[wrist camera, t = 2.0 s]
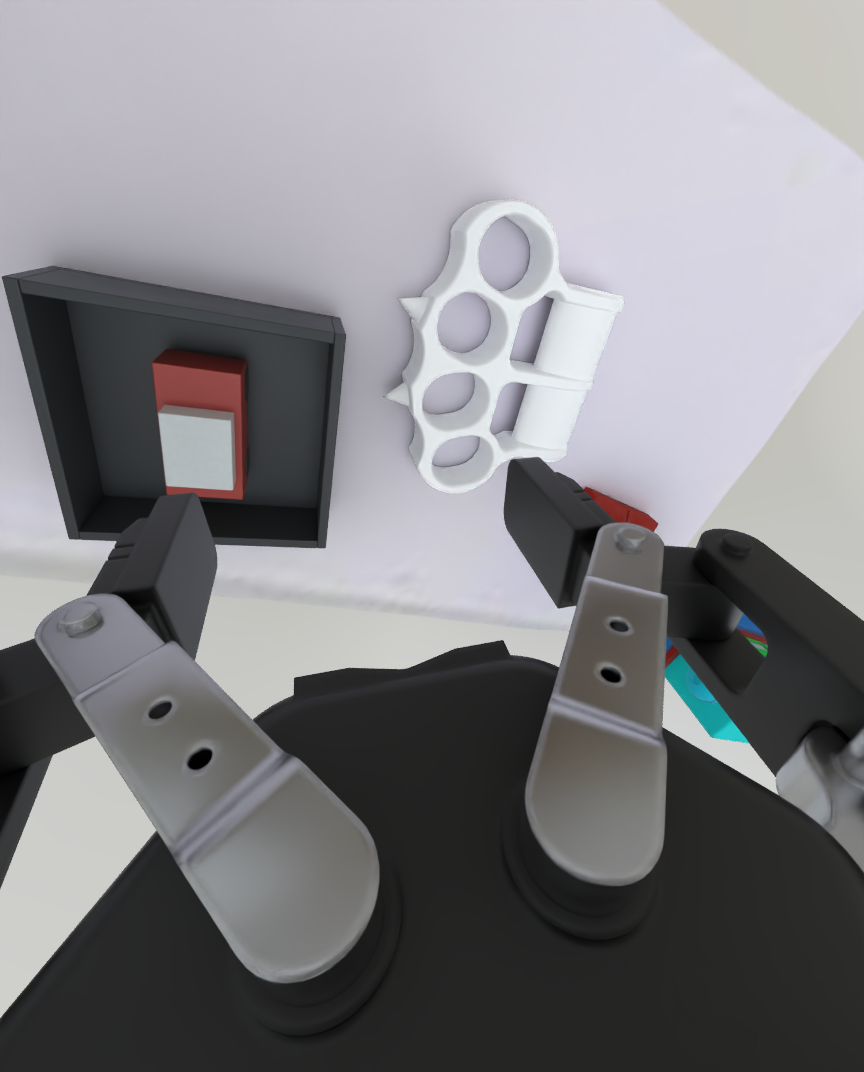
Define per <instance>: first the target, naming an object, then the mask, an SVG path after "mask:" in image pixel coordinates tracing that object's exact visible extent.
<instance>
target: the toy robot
mask: <svg viewBox="0 0 864 1072" xmlns="http://www.w3.org/2000/svg"><path fill="white" fill-rule="evenodd" d="M584 492H587V493H588V494H589V495H590V496H591V497H592V500H595V501H596V502H597V503H598V504H599V505H600V506H601V507H602V508H603V509H604V510H605V511H606V512H607V513H608V514H609V515H610V516H611V517H612V518H613V519H614V520H615V521H616V522H617V523H620V522H622V523H631V524H635V525H639V526H642V527H645V528H647V529H649V530H651V531H652V532H654V531H655V529H656V527H657V525H658V523H657V522H656V521H655V520H654V519H652V518H651V517H650V516H649V515H648V514H645V513H643V512H641V511H639V510H637V509H634V508H632V507H630V506H628V505H625V504H623V503H621V502H619V501H617V500H614V499H612V498H610V497H608V496H605V495H603V494H601V493H599V492H597V491H594V490H592V489H590V488H588V487H586V489H585V490H584ZM736 628H737V629H738V630H739V631H740V632H741V633H742V634H743V635H744V636H745V637H746V638H747V639H748V641H749V642H750V643H751V644H752V645H753V646H754V647H755V648H756V649H757V650H758V651H759V652H760V653H761V654H762V655H763V656H764V657H766V655H767V652H768V645H767V641H766V638H765V636H764V634H763V633H762V631H761V630H760V629H759V628H758V627H757V626H756V625H755V624H754V623H753V622H752V621H751V620H750V619H749V618H748V617H747V616H746V615H745V614H744V613H743V615H742V617H741V619H740V621H739V623H738V625H737V627H736ZM665 678H666V679H667V680H668V681H669V683H670V684H671V685H672V687H673V688H674V689H675V690H676V692H677V693H678V694H679V696H680V697H681V698H682V700H683V701H684V702H685V703H686V705H687V706H688V707H689V708H690V710H691V711H692V713H693V714H694V715H695V717H696V718H697V719H698V721H699V722H700V723H701V725H702V726H703V727H704V729H705V730H706V731H707V732H708V734H709V735H710V736H711V737H712V738H717V739H724V740H730V741H737V742H743V743H749V742H748V741H747V739H746V738H745V737H744V736H743V734H742V733H741V732H740V730H739V729H738V728H737V727H736V725H735V724H734V723H733V721H732V720H731V719H730V718H729V716H728V715H727V714H726V712H725V711H724V710H723V708H722V707H721V706H720V705H719V703H718V702H717V701H716V699H715V698H714V697H713V696H712V694H711V693H710V692H709V690H708V689H707V688H706V687H705V685H704V684H703V683H702V681H701V680H700V679H699V678H698V676H697V675H696V674H695V672H694V671H693V670H692V668H691V667H690V666H689V665H688V663H687V662H686V661H685V659H684V658H683V657H682V656H681V654H680V653H679V652H678V650H677V649H676V648H675V647H674V645H673V644H672V643H671V641H670V640H669V639H668V637H667V638H666V658H665Z"/></svg>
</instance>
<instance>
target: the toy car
mask: <svg viewBox="0 0 864 1072" xmlns="http://www.w3.org/2000/svg"><path fill="white" fill-rule="evenodd" d="M152 371H153V380H154V388H155V397H156V406H157V414H158V423H159V432H160V440H161V449H162V458H163V466H164V475H165V484H166V492H167V495H173V494H182V493H192V492H194V493H196V494H197V496H198V497H209V498H225V499H241V500H242V499H243V498H244V493H245V489H246V484H247V479H248V473H249V460H250V454H249V447H248V426H247V400H248V393H249V372H248V368H247V361H246V360H242V359H235V358H228V357H221V356H214V355H207V354H200V353H194V352H187V351H180V350H173V349H165V350H164V351H163V352H162V353H161V354H160V355H159V356H158V357H157V358H156V359H155V360H154V361H153V362H152Z"/></svg>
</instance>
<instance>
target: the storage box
mask: <svg viewBox="0 0 864 1072" xmlns="http://www.w3.org/2000/svg"><path fill="white" fill-rule="evenodd" d="M2 279H3V283H4V287H5V291H6V295H7V299H8V303H9V307H10V311H11V315H12V318H13V322H14V326H15V330H16V334H17V338H18V342H19V346H20V350H21V354H22V357H23V361H24V365H25V369H26V373H27V377H28V381H29V385H30V389H31V393H32V396H33V400H34V404H35V408H36V412H37V416H38V420H39V424H40V428H41V432H42V436H43V439H44V443H45V447H46V451H47V455H48V459H49V463H50V467H51V471H52V475H53V478H54V482H55V486H56V490H57V494H58V498H59V502H60V506H61V510H62V514H63V517H64V521H65V525H66V529H67V533H68V537H69V539H81V540H104V541H118V539H119V537H120V535H121V534H122V532H123V531H124V530H125V529H127V528H128V527H129V526H130V525H132V524H133V523H134V522H135V521H137V520H138V519H140V518H148V517H149V515H150V514H151V512H152V510H153V508H154V506H155V504H156V502H157V500H158V498H159V497H160V496H163V495H167V492H166V484H165V475H164V466H163V458H162V449H161V440H160V432H159V423H158V414H157V406H156V397H155V388H154V380H153V371H152V362H153V361H154V360H155V359H156V358H157V357H158V356H159V355H160V354H161V353H162V352H163V351H164V350H165V349H173V350H180V351H187V352H194V353H200V354H207V355H214V356H221V357H228V358H235V359H242V360H246V361H247V368H248V372H249V393H248V400H247V426H248V447H249V454H250V460H249V473H248V479H247V484H246V489H245V493H244V498H243V499H242V500H241V499H225V498H209V497H198V498H199V500H200V502H201V505H202V508H203V511H204V514H205V517H206V520H207V523H208V526H209V529H210V532H211V535H212V538H213V541H214V544H216V545H243V546H271V547H299V548H326V539H327V528H328V518H329V507H330V497H331V487H332V476H333V466H334V455H335V445H336V435H337V424H338V414H339V403H340V393H341V383H342V372H343V362H344V351H345V341H346V334H345V331H344V328H343V325H342V322H341V319H340V318H338V317H333V316H327V315H322V314H316V313H311V312H305V311H300V310H294V309H288V308H283V307H277V306H272V305H266V304H261V303H255V302H250V301H244V300H238V299H233V298H227V297H222V296H216V295H211V294H205V293H200V292H194V291H188V290H183V289H177V288H172V287H166V286H161V285H155V284H150V283H144V282H139V281H133V280H127V279H122V278H116V277H111V276H105V275H100V274H94V273H89V272H83V271H77V270H72V269H66V268H61V267H55V266H49V267H45V268H40V269H36V270H31V271H26V272H21V273H16V274H11V275H6V276H2Z"/></svg>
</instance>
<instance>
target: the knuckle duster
mask: <svg viewBox="0 0 864 1072" xmlns="http://www.w3.org/2000/svg"><path fill="white" fill-rule="evenodd" d="M503 216H504V217H506V218H508V219H509V220H511V221H512V222H513V223H515V224H516V225H517V226H519V227H520V228H521V229H522V230H523V231H524V232H525V234H526V236H527V238H528V241H529V244H530V261H529V265H528V268H527V271H526V273H525V275H524V276H523V278H522V279H521V280H520V282H519V283H518V284H516V285H515V286H514V287H512V288H510V289H508V290H505V291H497V290H496V289H494V288H493V287H491V286H490V285H489V284H488V283H487V282H486V281H485V279H484V278H483V276H482V274H481V272H480V268H479V263H478V252H479V246H480V243H481V240H482V237H483V235H484V233H485V232H486V230H487V229H488V228H489V226H490V225H491V224H492V223H493V222H495V221H496V220H497V219H499V218H501V217H503ZM450 233H451V244H450V251H449V256H448V259H447V262H446V265H445V267H444V269H443V271H442V273H441V274H440V276H439V277H438V278H437V280H436V281H435V282H434V283H433V284H432V285H431V286H430V287H428V288H427V289H425V290H424V292H423V294H422V296H421V297H415V298H398V300H399V301H400V302H401V304H402V305H403V306H404V308H405V309H406V311H407V312H408V313H409V315H410V316H411V317H412V319H411V325H412V328H413V334H414V347H413V352H412V356H411V359H410V361H409V363H408V365H407V367H406V368H405V369H404V371H403V372H402V378H403V383H402V384H401V385H399V386H398V387H396V388H395V389H394V390H392V391H391V392H389V393H388V394H386V395H385V396H383V397H385V398H387V399H390V400H392V401H395V402H398V403H400V404H403V405H405V406H407V407H408V409H409V411H410V413H411V415H412V416H413V418H414V422H415V432H414V437H413V440H412V442H411V445H410V446H409V450H410V453H411V456H412V458H413V460H414V462H415V465H416V467H417V469H418V472H419V474H420V475H421V477H422V478H423V480H424V481H425V482H426V483H427V484H428V485H430V486H431V487H433V488H434V489H436V490H439V491H441V492H445V493H463V492H467V491H470V490H472V489H475V488H477V487H478V486H480V485H482V484H483V483H484V482H485V481H487V480H488V479H489V478H490V477H491V476H492V474H493V473H494V472H495V470H496V469H497V467H498V466H499V465H500V464H501V463H503V462H505V461H507V460H509V459H511V458H513V457H522V458H531V457H540V458H541V459H542V460H543V461H544V462H556V461H560V460H561V459H562V457H565V456H566V453H567V451H568V448H567V447H566V446H567V444H568V441H569V438H570V436H571V433H572V431H573V428H574V425H575V423H576V420H577V418H578V415H579V412H580V410H581V407H582V405H583V402H584V399H585V397H586V394H587V391H589V390H591V388H592V386H593V383H594V381H593V380H592V378H593V376H594V373H595V371H596V368H597V365H598V363H599V360H600V357H601V355H602V352H603V350H604V347H605V344H606V342H607V339H608V336H609V334H610V331H611V329H612V326H613V323H614V321H615V318H616V315H617V313H620V312H621V310H622V308H623V305H624V300H623V296H619V295H615V294H611V293H607V292H603V291H599V290H595V289H591V288H587V287H583V286H579V285H574V284H570V283H566V281H565V280H564V278H563V277H562V275H561V273H560V272H559V246H558V241H557V237H556V234H555V231H554V228H553V226H552V224H551V223H550V221H549V220H548V218H547V217H546V216H545V214H544V213H543V212H542V211H541V210H539V209H538V208H537V207H535V206H534V205H532V204H530V203H528V202H525V201H522V200H516V199H507V200H493V201H486V202H482V203H479V204H477V205H475V206H473V207H471V208H470V209H468V210H467V211H466V212H465V213H463V214H462V215H461V216H460V217H459V218H458V220H457V221H456V222H455V223H454V225H453V226H452V228H451V230H450ZM465 292H473V293H475V294H477V295H478V296H480V297H481V298H482V299H483V300H484V301H485V302H486V304H487V305H488V308H489V310H490V314H491V325H490V330H489V333H488V335H487V337H486V339H485V340H484V342H483V343H482V344H481V345H480V346H479V347H477V348H476V349H474V350H472V351H470V352H466V353H457V352H454V351H451V350H450V349H448V348H446V347H444V346H442V345H441V343H440V341H439V338H438V333H437V324H438V319H439V315H440V313H441V311H442V309H443V307H444V306H445V305H446V303H447V302H448V301H449V300H450V299H452V298H453V297H455V296H456V295H458V294H461V293H465ZM544 295H545V296H547V297H550V298H553V299H554V301H553V304H552V308H551V311H550V314H549V317H548V320H547V324H546V327H545V330H544V333H543V337H542V340H541V343H540V346H539V349H538V353H537V356H536V359H535V362H534V364H532V363H526V362H520V361H515V360H510V354H511V350H512V347H513V343H514V340H515V336H516V333H517V329H518V325H519V322H520V318H521V315H522V313H523V311H524V310H525V309H526V308H527V307H529V306H531V305H533V304H535V303H536V302H538V301H539V300H540V299H541V298H542V297H543V296H544ZM459 372H469V373H472V374H473V376H474V379H475V389H474V393H473V396H472V398H471V399H470V401H469V402H468V403H467V404H466V405H465V406H464V407H463V408H462V409H460V410H458V411H456V412H452V413H446V414H440V415H434V414H430V413H427V412H425V411H424V410H423V409H422V400H423V396H424V393H425V391H426V389H427V388H428V386H429V385H430V384H431V383H432V382H433V381H434V380H435V379H437V378H439V377H441V376H443V375H446V374H452V373H459ZM510 382H516V383H523V384H528V385H527V388H526V391H525V395H524V398H523V401H522V404H521V408H520V411H519V414H518V417H517V420H516V424H515V427H514V430H513V432H511V431H502V432H500V433H498V434H496V435H493V434H492V433H491V431H490V425H491V421H492V418H493V414H494V411H495V407H496V404H497V400H498V396H499V393H500V391H501V389H502V388H503V386H505V385H506V384H508V383H510ZM463 436H478V437H480V443H479V447H478V450H477V452H476V453H475V455H474V456H473V457H472V458H471V459H470V460H468V461H467V462H465V463H463V464H460V465H456V466H451V467H438V466H435V465H433V464H432V458H433V455H434V453H435V452H436V450H437V449H438V448H439V447H440V446H441V445H442V444H443V443H444V442H446V441H448V440H450V439H453V438H457V437H463Z"/></svg>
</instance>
